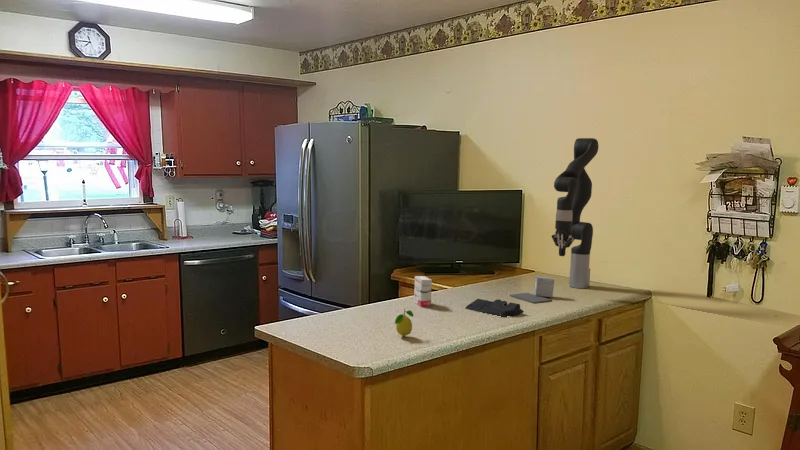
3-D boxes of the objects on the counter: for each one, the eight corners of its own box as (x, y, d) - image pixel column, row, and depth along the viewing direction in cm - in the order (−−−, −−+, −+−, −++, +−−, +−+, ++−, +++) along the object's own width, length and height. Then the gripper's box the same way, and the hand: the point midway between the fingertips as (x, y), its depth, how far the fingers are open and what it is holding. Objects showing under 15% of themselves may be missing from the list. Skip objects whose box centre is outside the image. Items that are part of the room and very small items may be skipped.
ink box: (431, 306, 246) (432, 279, 244) (420, 307, 244) (421, 279, 243) (423, 301, 254) (424, 275, 252) (413, 302, 252) (414, 276, 251)
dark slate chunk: (482, 303, 255) (483, 293, 255) (526, 313, 240) (527, 302, 240) (462, 309, 244) (462, 298, 243) (506, 319, 229) (507, 308, 229)
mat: (527, 293, 275) (527, 292, 275) (551, 301, 261) (551, 299, 261) (509, 295, 269) (509, 294, 269) (533, 303, 256) (533, 302, 256)
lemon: (413, 334, 204) (413, 306, 203) (414, 339, 199) (414, 311, 198) (394, 334, 204) (395, 306, 203) (394, 339, 198) (395, 310, 197)
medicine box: (550, 296, 271) (552, 278, 271) (552, 297, 267) (554, 279, 266) (533, 294, 272) (535, 276, 271) (535, 295, 267) (537, 277, 267)
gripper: (580, 220, 267) (578, 257, 269) (559, 218, 278) (557, 253, 280) (568, 221, 263) (566, 258, 265) (547, 218, 275) (545, 254, 276)
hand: (561, 255), depth 273 cm, fingers closed
